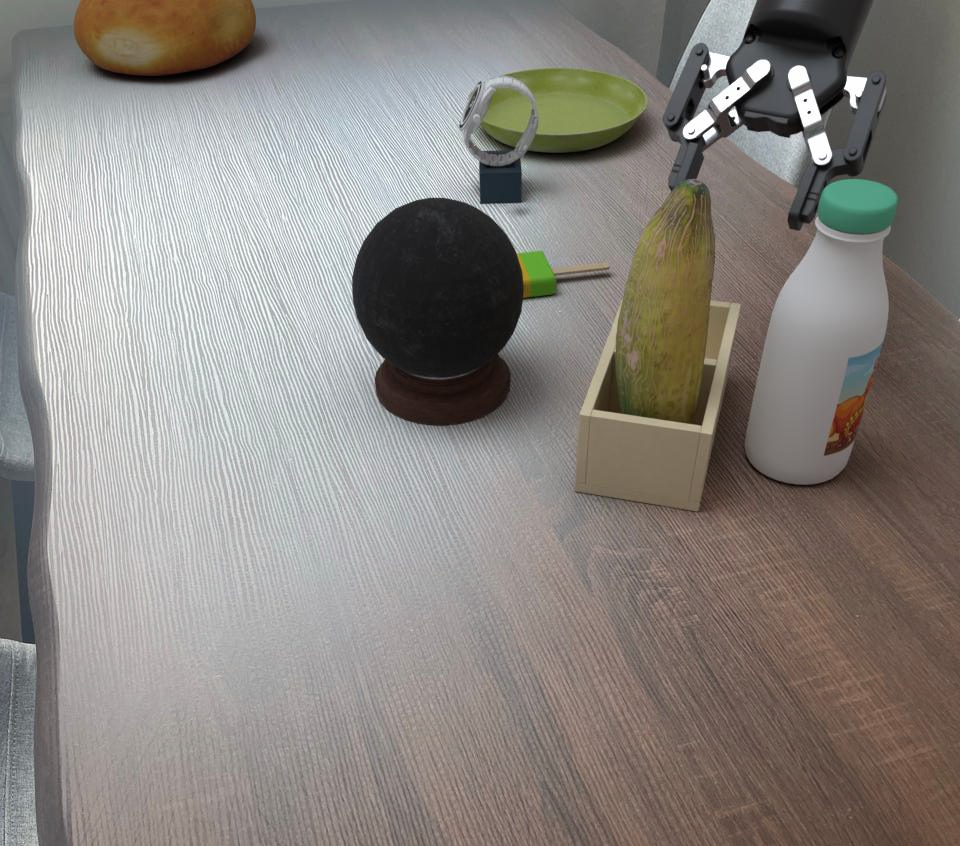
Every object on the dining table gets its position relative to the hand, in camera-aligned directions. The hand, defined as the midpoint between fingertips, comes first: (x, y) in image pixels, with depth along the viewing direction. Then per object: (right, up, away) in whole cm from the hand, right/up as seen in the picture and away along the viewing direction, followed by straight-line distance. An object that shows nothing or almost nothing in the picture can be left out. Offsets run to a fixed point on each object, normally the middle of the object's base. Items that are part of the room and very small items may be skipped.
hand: (734, 213), depth 72 cm
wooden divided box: (-4, -14, +8) cm, 16 cm away
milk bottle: (+6, -16, +6) cm, 18 cm away
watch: (-16, +18, +37) cm, 44 cm away
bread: (-60, +49, +67) cm, 102 cm away
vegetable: (-5, -16, +5) cm, 18 cm away
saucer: (-9, +30, +48) cm, 58 cm away
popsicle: (-13, +3, +24) cm, 27 cm away
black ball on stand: (-21, -9, +13) cm, 26 cm away
